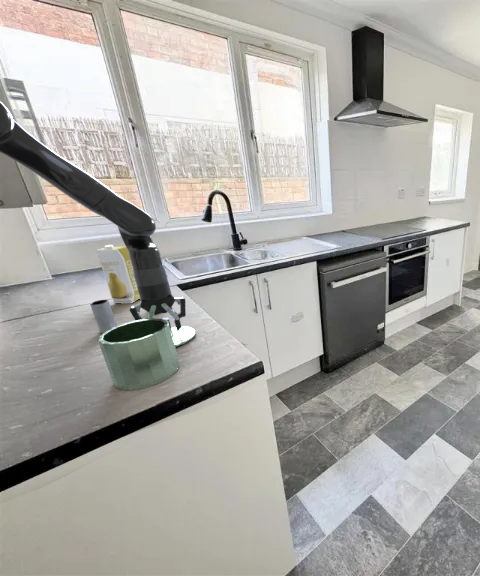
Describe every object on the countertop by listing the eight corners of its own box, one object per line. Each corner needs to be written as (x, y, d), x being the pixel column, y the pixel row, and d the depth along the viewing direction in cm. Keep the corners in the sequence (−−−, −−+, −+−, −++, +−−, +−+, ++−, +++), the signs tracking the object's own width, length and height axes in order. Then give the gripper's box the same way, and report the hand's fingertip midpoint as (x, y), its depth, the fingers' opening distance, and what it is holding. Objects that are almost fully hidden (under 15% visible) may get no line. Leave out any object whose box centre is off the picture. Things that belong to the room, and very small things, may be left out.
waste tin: (112, 398, 71) (94, 350, 67) (117, 370, 81) (102, 327, 77) (181, 376, 78) (169, 332, 74) (177, 354, 89) (167, 314, 84)
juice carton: (110, 304, 126) (90, 246, 118) (124, 297, 133) (107, 243, 125) (133, 304, 126) (115, 246, 118) (146, 297, 133) (131, 242, 126)
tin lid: (138, 358, 86) (131, 335, 84) (139, 338, 98) (133, 317, 95) (198, 342, 95) (193, 321, 92) (193, 325, 106) (188, 306, 104)
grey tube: (99, 334, 101) (88, 305, 97) (101, 329, 104) (91, 301, 101) (116, 331, 103) (107, 302, 100) (118, 326, 107) (109, 298, 103)
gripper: (119, 289, 83) (137, 345, 88) (182, 279, 91) (194, 330, 96) (121, 282, 89) (138, 335, 94) (180, 273, 97) (192, 322, 102)
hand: (166, 332), depth 95 cm, fingers open, 5 cm apart
